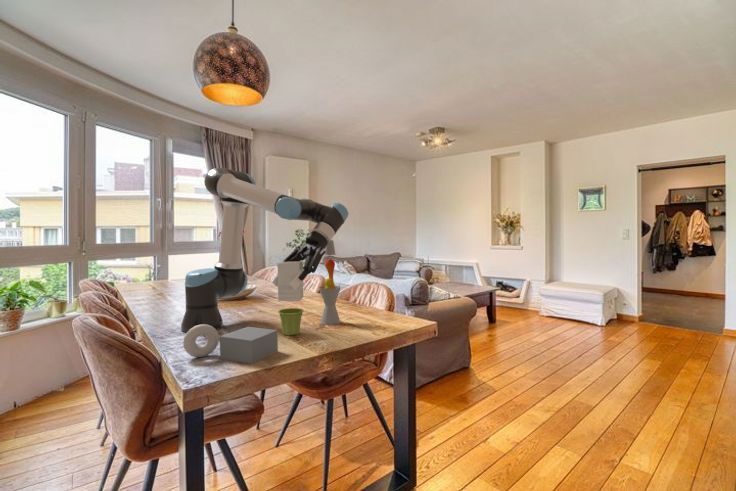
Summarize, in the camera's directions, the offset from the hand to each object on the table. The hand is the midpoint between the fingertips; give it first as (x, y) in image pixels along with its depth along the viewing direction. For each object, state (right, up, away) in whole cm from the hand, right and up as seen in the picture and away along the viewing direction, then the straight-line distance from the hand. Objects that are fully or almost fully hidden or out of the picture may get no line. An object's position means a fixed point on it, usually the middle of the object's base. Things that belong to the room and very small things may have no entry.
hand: (283, 285), depth 116 cm
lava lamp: (+12, -20, +33) cm, 40 cm away
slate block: (-9, -21, -7) cm, 24 cm away
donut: (-23, -21, -9) cm, 32 cm away
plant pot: (-1, -20, +17) cm, 26 cm away
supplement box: (+2, -5, +2) cm, 6 cm away
